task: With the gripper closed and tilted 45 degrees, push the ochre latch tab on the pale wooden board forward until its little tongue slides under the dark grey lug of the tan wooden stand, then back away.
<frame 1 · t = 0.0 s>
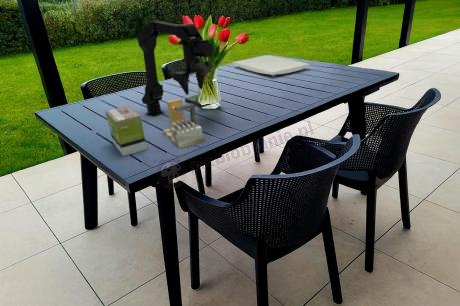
hand: (194, 91, 156), 15 cm above the table, tool pointing down, fingers open, 9 cm apart
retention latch: (177, 115, 148), point 8 cm above the table, slide at 0.0 cm
disk drive: (200, 103, 190), on the table
board: (269, 70, 248), on the table
tea box: (129, 147, 144), on the table
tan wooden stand: (178, 133, 153), on the table
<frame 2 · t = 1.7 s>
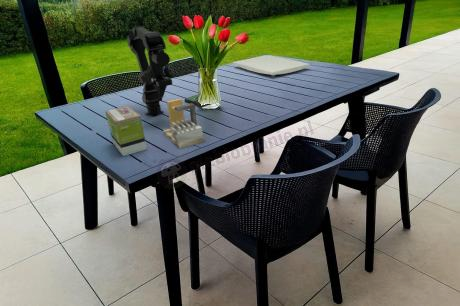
hand: (161, 97, 161), 12 cm above the table, tool pointing down, fingers closed
nothing on the table moved.
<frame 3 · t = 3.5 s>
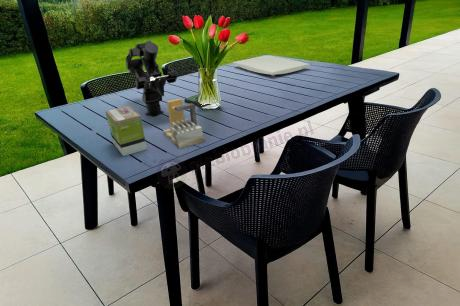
hand: (163, 95, 158), 14 cm above the table, tool tilted 45°, fingers closed
nothing on the table moved.
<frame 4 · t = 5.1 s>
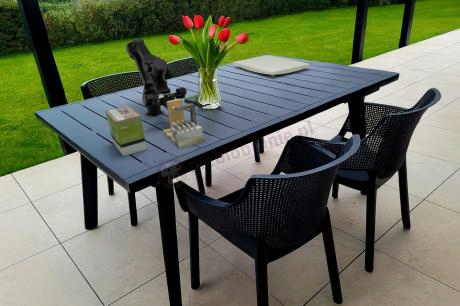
hand: (172, 113, 153), 8 cm above the table, tool tilted 45°, fingers closed
nothing on the table moved.
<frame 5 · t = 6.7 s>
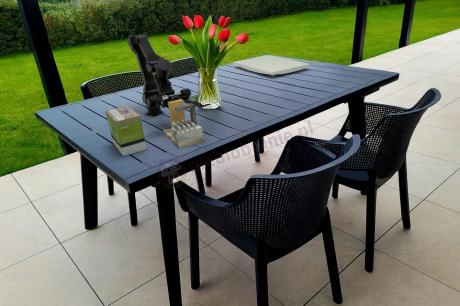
hand: (176, 115, 149), 8 cm above the table, tool tilted 45°, fingers closed, pressing on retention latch
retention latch: (178, 116, 147), point 8 cm above the table, slide at 1.3 cm, touching gripper
everything else where it was.
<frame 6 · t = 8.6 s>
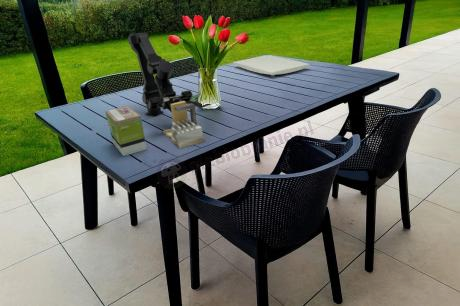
hand: (177, 117, 148), 8 cm above the table, tool tilted 45°, fingers closed
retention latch: (181, 118, 145), point 8 cm above the table, slide at 4.2 cm
everything else where it was.
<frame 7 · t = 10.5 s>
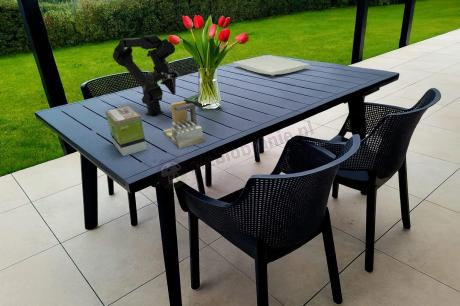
hand: (174, 94, 163), 12 cm above the table, tool tilted 25°, fingers closed
nothing on the table moved.
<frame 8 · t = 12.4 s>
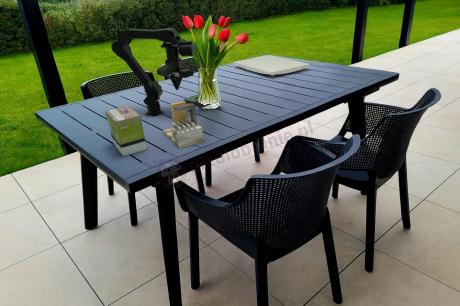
hand: (177, 89, 171), 12 cm above the table, tool pointing down, fingers closed
nothing on the table moved.
at the end: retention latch slide at 4.2 cm; tea box moved 0.3 cm from its start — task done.
